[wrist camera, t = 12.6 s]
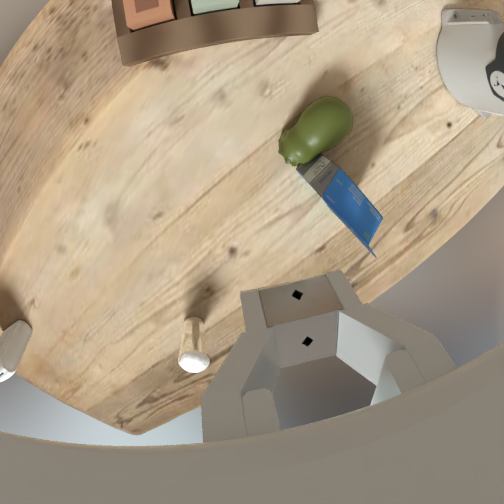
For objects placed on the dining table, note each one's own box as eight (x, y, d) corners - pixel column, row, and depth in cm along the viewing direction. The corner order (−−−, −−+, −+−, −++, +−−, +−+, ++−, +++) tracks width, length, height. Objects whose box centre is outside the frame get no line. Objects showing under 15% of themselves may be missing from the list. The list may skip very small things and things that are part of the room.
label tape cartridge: (355, 192, 40) (403, 235, 29) (336, 211, 41) (377, 259, 30) (314, 148, 36) (358, 178, 25) (293, 169, 37) (328, 208, 27)
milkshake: (191, 305, 46) (190, 355, 38) (213, 324, 49) (216, 373, 40) (170, 319, 47) (166, 368, 39) (192, 336, 50) (193, 384, 41)
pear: (368, 127, 30) (304, 183, 34) (353, 116, 34) (297, 165, 38) (337, 90, 27) (269, 152, 31) (324, 84, 31) (266, 137, 36)
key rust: (170, -10, 23) (165, -23, 18) (176, 22, 25) (171, 12, 21) (131, 1, 22) (121, -10, 18) (137, 33, 25) (126, 25, 21)
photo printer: (14, 344, 47) (-5, 389, 36) (1, 331, 44) (-21, 376, 34) (36, 331, 45) (15, 381, 35) (21, 316, 43) (-4, 365, 33)
